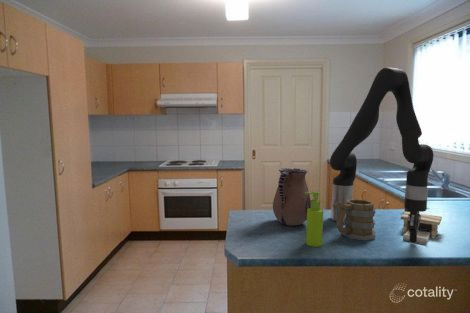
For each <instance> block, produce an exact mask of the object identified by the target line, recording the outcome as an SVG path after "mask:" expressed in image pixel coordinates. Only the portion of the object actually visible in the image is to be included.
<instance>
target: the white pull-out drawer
mask: <svg viewBox="0 0 470 313" xmlns="http://www.w3.org/2000/svg"><path fill="white" fill-rule="evenodd" d="M431 235H432V231H429V232H428V231H427V232H426V231H423V230H422V231H421V230H418V232H417V241H416V244H420V245H425V244H426V245H428V242H429V239H430V238H431ZM429 237H430V238H429ZM402 238H403V239H402V241H404V242H410V232H409V229H408V231H407V232H406V233H403V237H402ZM410 243H411V242H410Z"/></svg>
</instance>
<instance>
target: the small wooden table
mask: <svg viewBox="0 0 470 313" xmlns="http://www.w3.org/2000/svg"><path fill="white" fill-rule="evenodd" d="M409 213H410V212H404V213H403V214H402V215H401V216H400V220H403V227H402V228H403V229H402V232H403V234H406V232H407V231H408V229H409V228H408V220H409V219H408V214H409ZM420 214H421V219H420V226H419V229H418V230H421V229H422V231H427V230H428V231H431V235H430V238H431V237H432V239H435V238H436V236H437V233H438V229H439V228H438V227H439V226H440V224H441V222H442V220H443V216H439V215H432V214H426V213H425V214H424V213H420ZM428 231H427V232H428Z"/></svg>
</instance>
